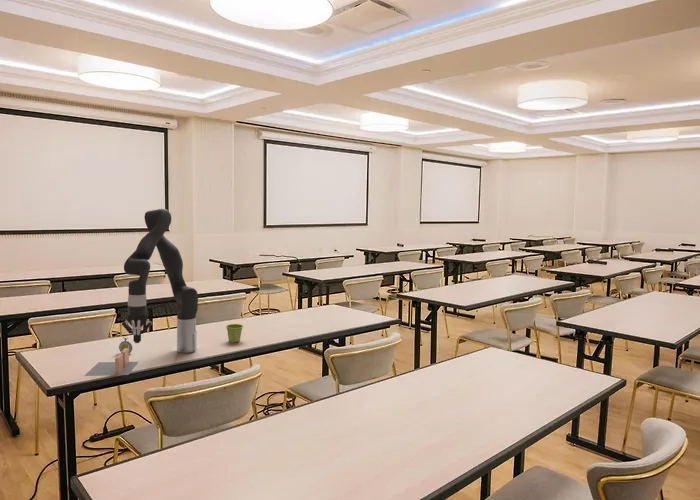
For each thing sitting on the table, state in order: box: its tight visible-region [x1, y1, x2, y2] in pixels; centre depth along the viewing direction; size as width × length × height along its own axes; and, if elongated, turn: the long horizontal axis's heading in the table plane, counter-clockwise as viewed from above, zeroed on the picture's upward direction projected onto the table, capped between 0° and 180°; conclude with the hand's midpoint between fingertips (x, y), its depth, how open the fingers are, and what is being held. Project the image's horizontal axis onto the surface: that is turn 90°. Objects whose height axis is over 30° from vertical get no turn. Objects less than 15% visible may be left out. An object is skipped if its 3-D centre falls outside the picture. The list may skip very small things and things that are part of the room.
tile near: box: [114, 353, 123, 374], centre depth 222 cm, size 2×6×7 cm, turn 9°
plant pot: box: [225, 323, 244, 344], centre depth 278 cm, size 9×9×9 cm
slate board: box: [84, 361, 140, 377], centre depth 226 cm, size 18×18×1 cm
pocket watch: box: [118, 335, 133, 354], centre depth 244 cm, size 8×8×10 cm
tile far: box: [120, 347, 130, 367], centre depth 230 cm, size 2×6×7 cm, turn 9°
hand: (137, 342), depth 222 cm, fingers closed
